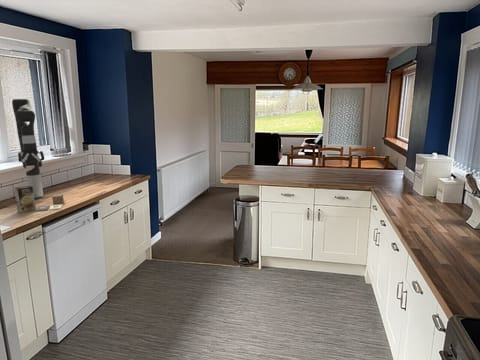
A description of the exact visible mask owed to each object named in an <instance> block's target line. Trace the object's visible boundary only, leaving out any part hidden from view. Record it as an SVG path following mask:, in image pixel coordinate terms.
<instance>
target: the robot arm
mask: <svg viewBox="0 0 480 360" xmlns="http://www.w3.org/2000/svg"><path fill="white" fill-rule="evenodd" d="M11 104H12V105H11V106H12V109H13V114H14V120H15V123H16V131H17V132H16V133H17V137H18V138H17V139H18V141H19V146H20V151H19V152H18V153H17V155H18V156H17V157H18V162H19V163H22V167H23V168H24V169H27V167H31V166H34V167H32V168H31V169H29V170H27V171H26V172H25V176H26V181H27V186H32V187H33V193H34V199H36V198H37V199H38V198H41V197H42V198H43V196H44V192H43V182H42V176H41V169H40V168H41V167H43V161H44V160H45V155H44V151H43V150H39V151H38V146H37V139H36V135H35V120H36V113H35V112H34V111H33V110H32V104H31V101H30V99H28V98H13V99H12V101H11ZM39 155H40V156H39ZM40 157H41V158H40Z"/></svg>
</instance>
